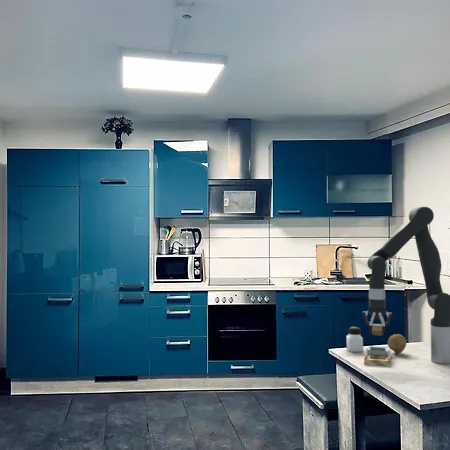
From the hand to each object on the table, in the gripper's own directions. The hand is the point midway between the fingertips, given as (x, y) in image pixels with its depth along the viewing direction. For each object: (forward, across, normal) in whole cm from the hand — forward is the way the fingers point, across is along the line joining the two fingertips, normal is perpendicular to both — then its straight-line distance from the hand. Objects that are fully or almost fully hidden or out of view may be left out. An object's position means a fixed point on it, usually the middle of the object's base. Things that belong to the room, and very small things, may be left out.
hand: (377, 333), depth 232 cm
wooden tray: (+14, 0, +4) cm, 15 cm away
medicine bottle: (+14, -12, +22) cm, 29 cm away
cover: (+11, 0, +8) cm, 14 cm away
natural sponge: (+14, +9, +21) cm, 27 cm away
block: (0, 0, 0) cm, 0 cm away
